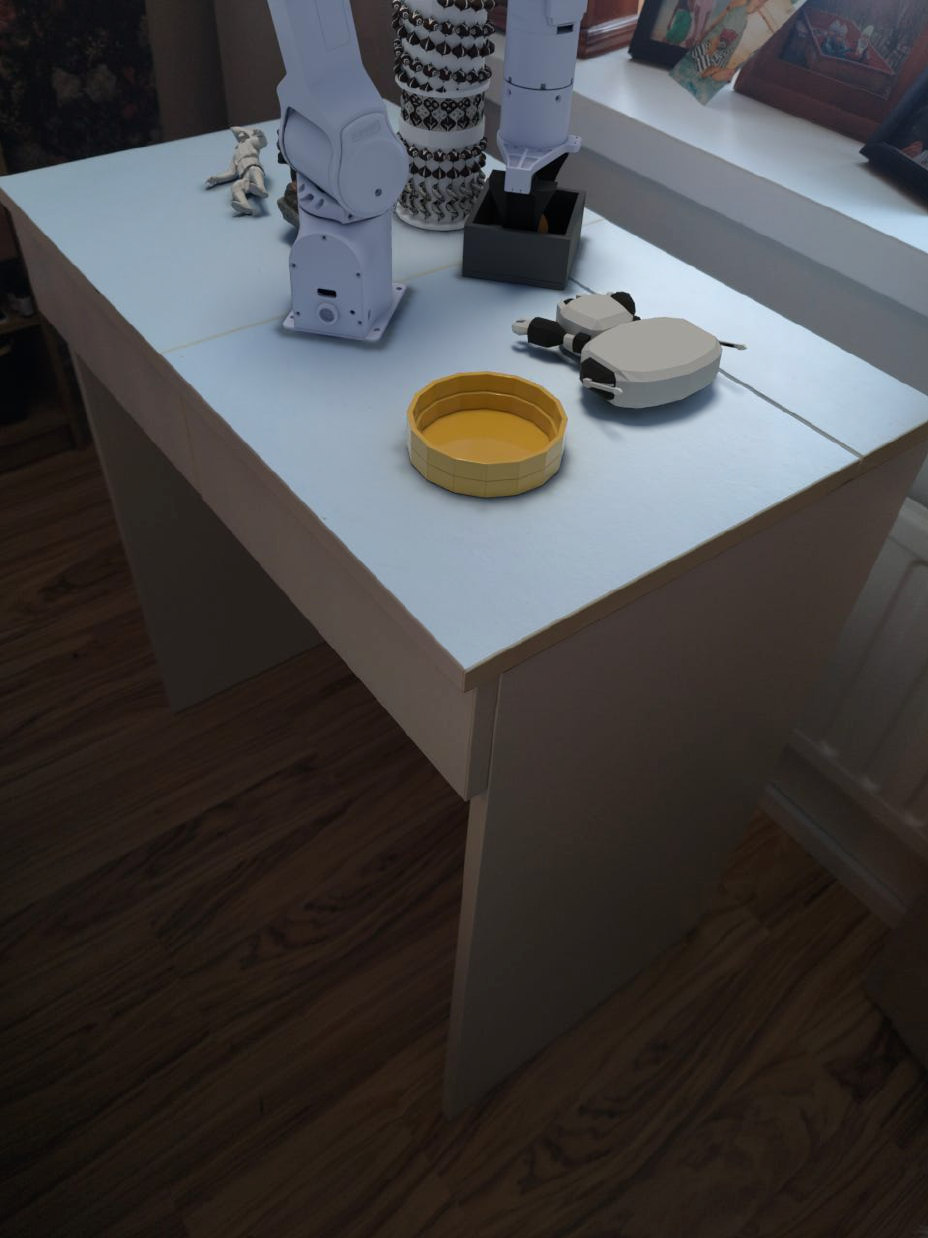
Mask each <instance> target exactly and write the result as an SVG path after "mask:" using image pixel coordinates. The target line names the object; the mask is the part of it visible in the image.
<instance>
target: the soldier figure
mask: <svg viewBox="0 0 928 1238" xmlns="http://www.w3.org/2000/svg"><path fill="white" fill-rule="evenodd" d="M229 130H230V131H231V133H232V135H233V137H234V138H235V140H236V141H237V143H238V144H237V145H236V146H235V147H234V149H235V150H234V152H233V154H232V157H231V161H230V164H229V168H228V170H227V171H226V172H224V173H220V174H216V175H210V176H208V177H207V178H206V179H205V181H204V185H206V184H207V183H209V184H210V187H211V188H212V187H213V186H214V184H215V183H216V184H222V183H226V182H229V181H233V180H234V179H236V177H237V176H238V177H239V179H237V180H236V181H235V182H234V183H232V184H231V186H230V192H231V196H232V198H233V201H232V202H231V203H230V206H231V207H232V208H233V210H235V211H236V212H238V213H240V212H241V213H244V214H246V215H250V214H252V213H253V208H252V206H251V205H250V203H249V202H248V199H247V197H246V195H248V194H250V193H251V194H253V195H255V196H258V197H260V198H262V199H268V198H269V193H268V191H267V189H266V188H265V184H264V182H265V177H266V172H265V168H264V166H263V165H262V163H261V161H260V154H261V150H263V149H264V148H266V147H267V146H268V139H267V136H266V134H265V132H264V131H263V130H262V129H261V128H259V127H251V129H249V128H244V127H241V126H231V127H230V128H229Z"/></svg>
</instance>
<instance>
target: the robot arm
mask: <svg viewBox="0 0 928 1238" xmlns="http://www.w3.org/2000/svg"><path fill="white" fill-rule="evenodd" d="M588 2H589V1H588V0H507V8H506V9H507V10H506V23H505V24H506V26H505V41H504V57H503V69H502V70H503V72H502V83H501V84H502V85H501V102H500V115H499V116H500V117H499V129H498V130H497V132H496V141H495V142H496V145H497V148H498V150H499V152H500V155H501V157H502V159H503V162H504V165H505V170H503V169H492V170H491V172H490V174H489V176H488V178H489V188H490V191H491V193H492V195H493V197H494V199H495V201H496V204H497V207H498V210H499V214H500V218H501V224H502V227H503V228H510V229H517V230H525V231H532V232H538V229H539V225H540V221H541V217H542V214H543V215H544V216H545V215H546V211H547V207H548V204H549V200H550V199H551V197H552V196H553V194H554V192H555V190H556V188H557V187H558V185H559V182H558V181H556V180H557V177H558V176H559V175H558V174H559V173H560V171H561V169H562V167H563V165H564V164H565V162H566V160H567V159H568V157H569V155H570V154H577V153H579V151H580V149H581V147H582V139H583V138H582V137H581V136H579V135H575V134H574V135H573V134H570V133H569V128H570V127H569V126H570V119H571V109H572V100H573V92H574V82H575V74H576V65H577V55H578V47H579V37H580V28H581V21H582V20H583V18H584V14H585V13H587V9H588ZM267 4H268V8H269V12H270V16H271V19H272V24H273V27H274V31H275V34H276V38H277V39H276V40H277V43H278V45H279V50H280V53H281V57H282V61H283V65H284V68H285V72H286V74H285V76H284V77H283V78H282V80H281V81H280V82H279V83H278V85H277V87H276V94H277V97H278V102H279V106H280V121H279V128H278V129H279V137H278V138H279V145H280V149H281V152H282V155H283V157H284V159H285V160H286V162H287V163H288V164H289V165H290V166H291V167H292V168H293V169H294V170H295V171H297V172H296V174H297V196H298V210H299V222H300V228H299V230H298V234H297V236H296V239H295V240H294V242H293V244H292V246H291V249H290V251H289V255H288V271H289V282H290V284H289V285H290V294H291V295H290V296H291V305H292V309H291V311H290V312H289V314H288V315H287V317H286V318H285V320H284V321H283V322H282V327H283V329H286V330H291V331H296V332H297V331H298V332H305V333H310V334H311V333H312V334H316V335H323V336H330V337H336V338H337V337H338V338H343V339H349V340H350V339H351V340H357V341H362V342H370V343H377V342H379V341H380V340H381V337H382V336H383V334H384V333H385V330H386V329H387V327H388V325H389V323H390V321H391V319H392V317H393V315H394V313H395V311H396V310H397V308H398V306H399V304H400V302H401V300H402V298H403V296H404V294H405V293H406V292H407V285H406V284H405V283H403V282H395V281H393V232H392V231H393V228H392V227H393V226H392V225H393V223H392V222H393V221H392V214H393V212H394V204H395V203H396V202H398V200H397V199H398V198H399V197H400V195H401V193H402V192H403V190H404V187H405V185H406V182H407V178H408V173H409V159H408V153H407V151H406V148H405V146H404V144H403V142H402V141H401V139H400V138H399V137H398V136H397V135H396V134H397V132H395V131H394V129H393V127H392V124H391V122H390V117H389V113H388V108H387V105H386V103H385V101H384V99H383V97H382V96H381V94H380V92H379V90H378V89H377V87H376V86H375V83H374V82H373V80H372V79H371V77H370V76H369V74H368V72H367V70H366V68H365V66H364V64H363V61H362V59H363V58H362V55H361V51H360V46H359V40H358V36H357V30H356V26H355V22H354V21H355V20H354V17H353V12H352V7H351V1H350V0H267ZM289 165H288V166H289ZM290 166H289V167H290Z"/></svg>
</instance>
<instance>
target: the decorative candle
mask: <svg viewBox="0 0 928 1238" xmlns="http://www.w3.org/2000/svg"><path fill="white" fill-rule="evenodd" d="M500 4H501V3H500V0H391V8H392V9H393V10H394V11H393V13H392V15H391V19H392V20H391V22H390V25H391V27H392V29H393V30H395V34H396V36H397V37H396V38H395V39H394V40H393V54H394V55H395V56H396V57H395V59H394V65H393V67H392V71H393V72H394V74H395V76H394V81H395V83H396V84H397V86H398V87H399V88H401V90H400V99H399V100H400V106H401V109H400V111H399V114H398V130H397V132H396V135H397V136H398V137H399V138H400V139H401V141H402V142H403V144H404V146H405V148H406V151H407V153H408V159H409V173H408V178H407V182H406V185H405V187H404V190H403V192H402V193H401V195H400V197H399V198H398V199H397V205H396V207H395V212H396V214H397V216H398V217H399V219H400V220H402V221H403V222H405V223H406V224H408V225H410V226H412V227H416V228H420V229H424V230H429V231H441V232H445V231H456V230H462V229H464V224H465V222H466V220H467V218H468V216H469V214H470V212H471V210H472V208H473V206H474V204H475V202H476V200H477V198H478V196H479V194H480V192H481V190H482V188H483V186H484V184H485V182H486V179H487V178H486V176H487V175H486V174H485V172H483V170H482V169H483V168H485V167H486V164H487V161H486V160H487V155H486V154H485V153H484V151H486V150H487V148H488V137H487V136H486V135H485V125H486V116H485V114H484V112H485V111H484V109H485V93H486V92H485V91H486V90H488V89H489V88H490V83H491V77H492V75H493V71H492V69H491V67H490V66H488V65H487V64H486V63H485V62H486V57H487V58H488V57H489V56H490V55H492V54H494V53H495V50H496V46H495V44H494V42H492V41H491V40H490V39H489V38H490V36H491V35H493V34H495V33H496V32H497V25H496V23H495V22H494V21H493V20H491V18H489V17H488V11H493V10H494V9H496V8H498V7H499V6H500Z"/></svg>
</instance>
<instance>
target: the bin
mask: <svg viewBox="0 0 928 1238" xmlns="http://www.w3.org/2000/svg"><path fill="white" fill-rule="evenodd" d="M586 197H587V191H586V190H582V189H575V188H566V187H561V186H557V188H556V190H555V192H554V194H553V196H552V197H551V199H550V200H549V204H548V207H547V211H546V215H545V218H546V220H547V223H548V234H547V233H539V232H532V231H525V230H517V229H510V228H503V227H502V224H501V218H500V214H499V210H498V207H497V204H496V201H495V199H494V197H493V195H492V193H491V191H490V188H489V177H487V178H486V179H485V184H484V186H483V187H482V190H481V192H480V194H479V196H478V198H477V200H476V202H475V204H474V206H473V208H472V210H471V212H470V214H469V216H468V218H467V220H466V222H465V224H464V228H463V237H462V239H463V240H462V259H461V260H462V262H461V276H462V277H468V278H475V279H476V278H477V279H482V280H490V281H497V282H505V283H511V284H518V285H526V286H532V287H539V288H546V289H552V290H561V291H565V290H566V287H567V284H568V281H569V277H570V274H571V271H572V268H573V264H574V261H575V257H576V254H577V251H578V249H579V248H578V247H579V244H580V241H581V236H582V228H583V221H584V211H585V203H586Z"/></svg>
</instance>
